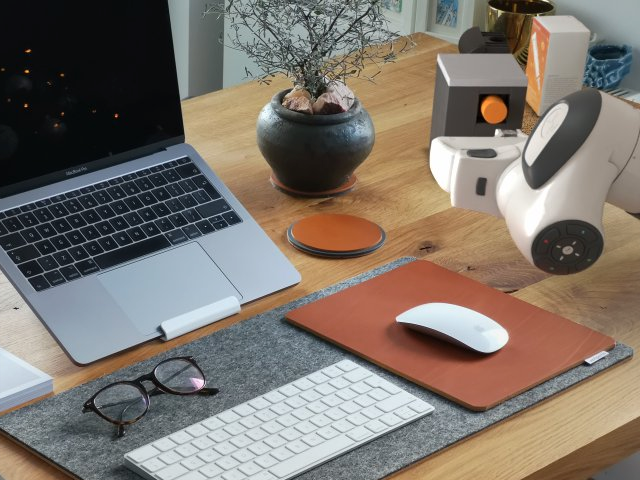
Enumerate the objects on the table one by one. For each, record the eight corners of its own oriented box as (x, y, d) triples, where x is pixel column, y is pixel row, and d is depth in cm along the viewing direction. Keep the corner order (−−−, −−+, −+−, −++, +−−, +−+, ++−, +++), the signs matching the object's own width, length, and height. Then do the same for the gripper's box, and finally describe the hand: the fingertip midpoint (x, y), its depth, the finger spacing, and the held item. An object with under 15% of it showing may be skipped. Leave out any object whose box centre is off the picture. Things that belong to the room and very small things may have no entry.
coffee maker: (499, 150, 156) (512, 53, 149) (514, 180, 148) (528, 79, 140) (428, 150, 156) (437, 53, 149) (439, 180, 148) (449, 79, 140)
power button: (501, 116, 144) (504, 94, 143) (505, 123, 142) (508, 101, 141) (478, 116, 144) (481, 94, 143) (482, 123, 142) (484, 101, 141)
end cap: (455, 65, 187) (459, 25, 184) (498, 66, 187) (503, 26, 183) (461, 85, 179) (466, 44, 175) (506, 86, 178) (511, 45, 175)
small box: (521, 97, 174) (532, 15, 167) (560, 96, 174) (573, 14, 168) (537, 117, 167) (549, 31, 160) (578, 115, 168) (592, 30, 161)
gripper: (631, 156, 121) (596, 110, 133) (443, 155, 121) (426, 109, 133) (621, 209, 124) (588, 159, 136) (438, 207, 124) (421, 158, 136)
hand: (506, 134), depth 135 cm, fingers closed
